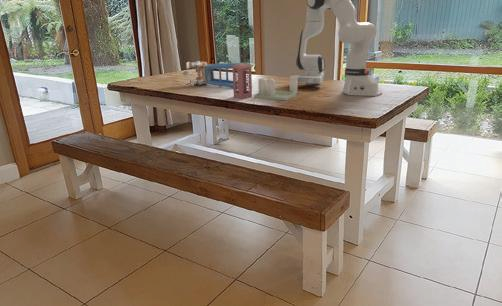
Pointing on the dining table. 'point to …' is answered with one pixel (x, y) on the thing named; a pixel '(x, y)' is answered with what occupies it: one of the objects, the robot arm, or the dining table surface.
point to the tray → (277, 95)
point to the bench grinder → (210, 74)
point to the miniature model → (242, 81)
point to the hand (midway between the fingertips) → (301, 81)
